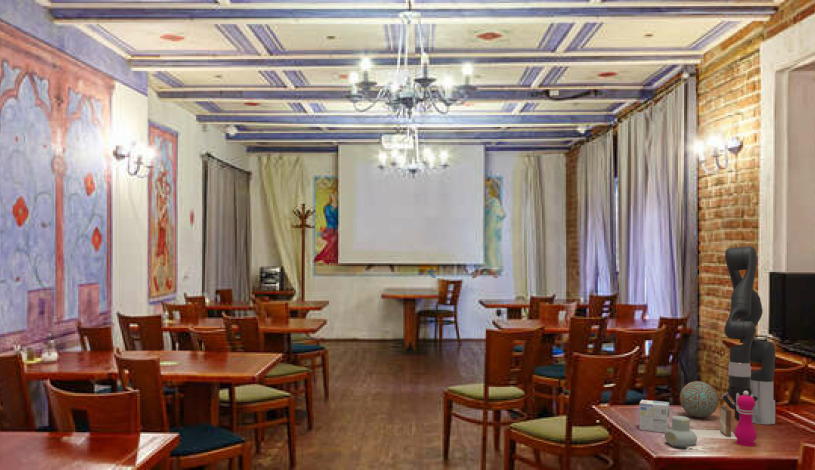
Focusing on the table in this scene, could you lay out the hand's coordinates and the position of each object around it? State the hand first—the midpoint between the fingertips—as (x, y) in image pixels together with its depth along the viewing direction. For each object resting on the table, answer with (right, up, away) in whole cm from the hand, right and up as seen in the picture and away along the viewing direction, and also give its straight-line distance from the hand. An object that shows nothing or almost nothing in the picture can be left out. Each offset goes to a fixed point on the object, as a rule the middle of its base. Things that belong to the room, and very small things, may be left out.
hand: (739, 420), depth 270 cm
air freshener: (-26, -6, -11) cm, 29 cm away
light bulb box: (-28, -7, +11) cm, 31 cm away
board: (-11, -6, +1) cm, 13 cm away
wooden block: (-5, -5, +1) cm, 7 cm away
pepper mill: (-3, -7, -12) cm, 14 cm away
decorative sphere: (-2, -7, +33) cm, 34 cm away
